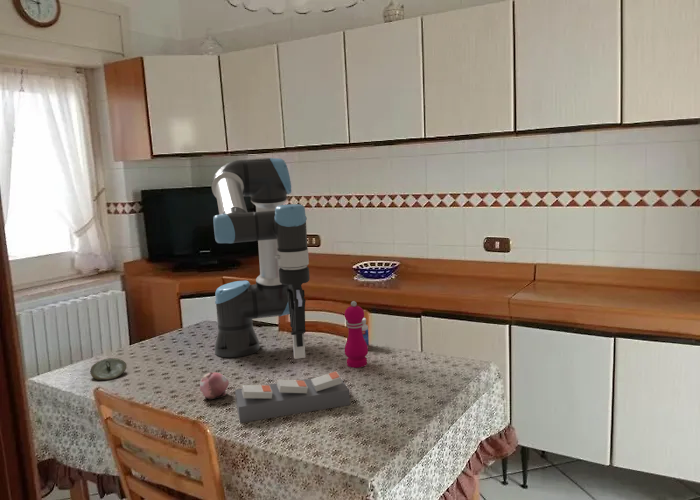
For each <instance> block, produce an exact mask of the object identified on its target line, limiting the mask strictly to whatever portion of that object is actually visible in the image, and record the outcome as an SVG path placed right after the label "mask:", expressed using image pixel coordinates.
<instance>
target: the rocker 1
mask: <svg viewBox="0 0 700 500" xmlns="http://www.w3.org/2000/svg"><path fill="white" fill-rule="evenodd" d="M241 389H242V394H243V398H269V399H272V390H271V387H270V384H242V385H241Z"/></svg>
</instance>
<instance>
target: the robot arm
mask: <svg viewBox="0 0 700 500" xmlns="http://www.w3.org/2000/svg"><path fill="white" fill-rule="evenodd" d="M291 182H292V181H291V176H290V172H289V169H288V165H287V163H286V161H285V160H284V159H283V158H276V157H275V158H273V157H266V158H253V159H236V160H232V161H230V162H227V163H225V164H224V165H223V166H221V167H220V168H218V170H217V171H216V172H215V173H214V175H213V177H212V179H211V184H210V185H211V192H212V195H213V196H214V197H215V198H216V201H217V207H218V214H216V215H213V217H212V218H213V220H212V221H213V232H214V233H213V234H214V239H215V242H216V243H217V244H235V243H247V242H248V243H249V242H257V243H258V244H257V245H258V246H257V247H258V260H259V275H258V276H257V277H256V278H255V284H251V283H250V281H248V280H237V281H232V282H228V283H225V284H222V285H220V286H219V287H217V288H216V290H215V294H214V295H215V301H214V304H215V305H216V306H215V307H216V317H217V319H216V320H217V321H216V322H217V334H216V338H215V342H214V343H215V344H214V354H215V355H216V356H217V357H222V358H239V357H240V358H241V357H245V356H249V355H252V354H255V353H257V352H258V351H259V350H260V349H261V348H260V347H261V346H260V341H259V338H258V335H257V333H256V331H255V329H254V323H253V320H255V319H256V320H257V319H265V318H274V317H282V316H286V315H289V322H290V324H289V326H290V328H291V332H290V335H291V336H292V346H293V347H292V348H293V350H292V351H293V358H294V359H295V360H297V359H303V358H306V348H305V345H306V344H305V334H306V332H307V331H306V298H305V296H306V295H305V289H303V287H302V285H303V284H307V283H309V281H311V280H310V268H309V266H308V265H309V264H310V260H309V248H308V234H307V232H308V231H307V215H306V208H305V206H304V205H303V204H297V203H296V204H295V203H292V204H291V203H290V204H285V203H286V201H287V199H288V198H287V197H288V195H291V194H292V183H291ZM244 197H250V202H251V203H252V204H253V205H254V206H255V211H249V212H248V210H247V209H248V208H247V206H246V205H247V204H246V201H245V199H244Z"/></svg>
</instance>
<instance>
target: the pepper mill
mask: <svg viewBox="0 0 700 500" xmlns="http://www.w3.org/2000/svg"><path fill="white" fill-rule="evenodd" d="M363 318H365V311H364V309H363V308H362V307H361V306H359V305H358V304H357V302H356V301H355V300H353V301H351V302H350V306H348V307H347V308H346V309H345V311H344V319H345V320H346V321H347V322H346V328H348V329H347V330H348V334H347V335H348V336H347V339H346V342H345V345H344V354H345V357H347V358H346V366H347V367H349V368H351V369H353V368H354V369H358V368H364V367H366V366H367V365H368V358H367V355H368V353H369V347H367V344H366V342H365V340H364V338H363V334H362V326H363V321H362V319H363Z"/></svg>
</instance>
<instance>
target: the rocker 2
mask: <svg viewBox="0 0 700 500" xmlns="http://www.w3.org/2000/svg"><path fill="white" fill-rule="evenodd" d="M301 380H302V379H299V380H298V379H296V380H295V379H281V378H280V379H277V381H276V384H277V387H278V389H279V392H285V393H307V390H308V387H307V385H306V383H305V381H301Z"/></svg>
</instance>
